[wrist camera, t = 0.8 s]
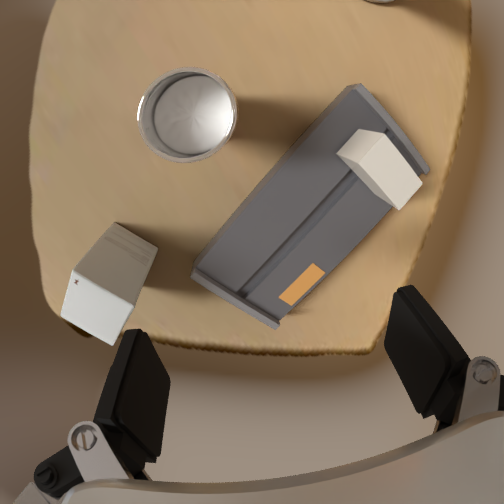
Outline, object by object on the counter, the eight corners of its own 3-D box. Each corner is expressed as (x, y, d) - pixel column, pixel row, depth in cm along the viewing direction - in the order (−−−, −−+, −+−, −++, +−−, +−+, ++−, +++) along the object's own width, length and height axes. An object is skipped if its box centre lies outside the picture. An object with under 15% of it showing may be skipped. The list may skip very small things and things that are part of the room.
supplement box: (96, 261, 37) (57, 315, 26) (114, 220, 35) (71, 268, 23) (138, 286, 39) (112, 348, 28) (161, 248, 37) (135, 306, 26)
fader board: (347, 85, 29) (361, 83, 25) (413, 163, 33) (430, 169, 30) (193, 261, 38) (189, 277, 34) (271, 312, 43) (275, 329, 39)
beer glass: (248, 119, 30) (262, 121, 17) (201, 156, 32) (179, 187, 19) (211, 74, 28) (195, 43, 14) (163, 113, 29) (114, 113, 16)
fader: (354, 128, 29) (384, 133, 23) (390, 168, 32) (422, 183, 25) (332, 152, 30) (358, 163, 24) (370, 191, 33) (399, 210, 26)
